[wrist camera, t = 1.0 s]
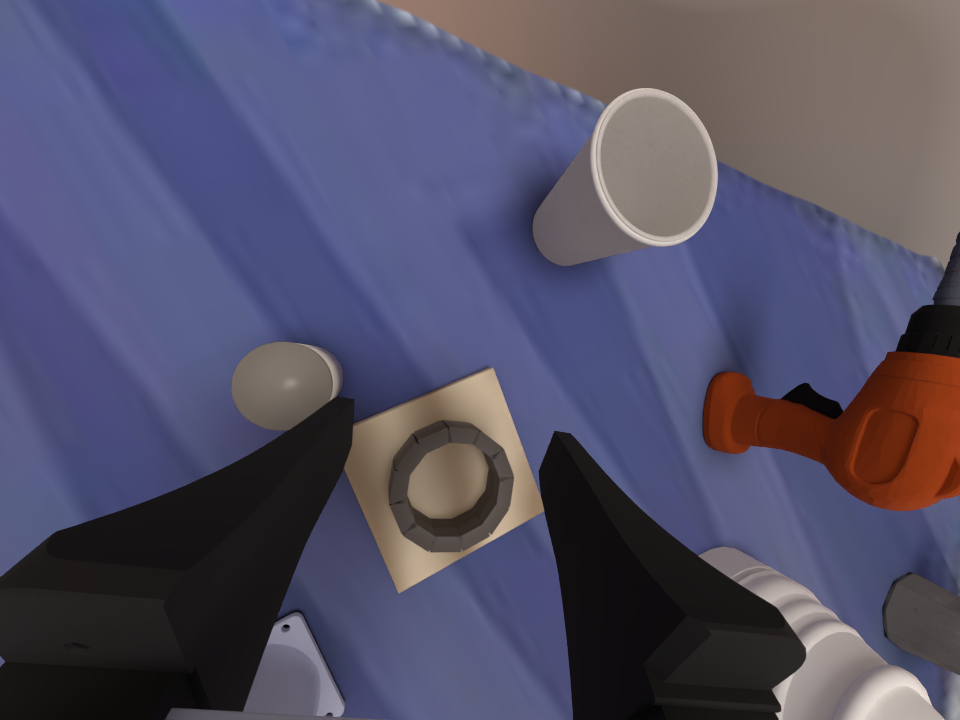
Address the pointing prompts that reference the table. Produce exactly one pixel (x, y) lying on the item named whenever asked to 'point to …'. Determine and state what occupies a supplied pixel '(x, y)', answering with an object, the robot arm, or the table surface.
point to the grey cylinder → (285, 383)
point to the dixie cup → (631, 182)
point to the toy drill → (867, 415)
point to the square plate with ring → (441, 476)
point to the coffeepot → (924, 621)
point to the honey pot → (827, 655)
